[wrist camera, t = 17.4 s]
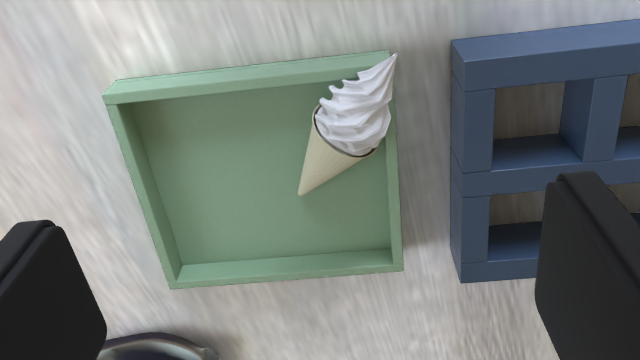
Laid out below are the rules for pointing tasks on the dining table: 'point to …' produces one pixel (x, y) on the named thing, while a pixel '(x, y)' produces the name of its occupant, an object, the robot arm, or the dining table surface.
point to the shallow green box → (254, 175)
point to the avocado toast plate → (154, 348)
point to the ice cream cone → (348, 125)
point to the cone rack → (536, 151)
